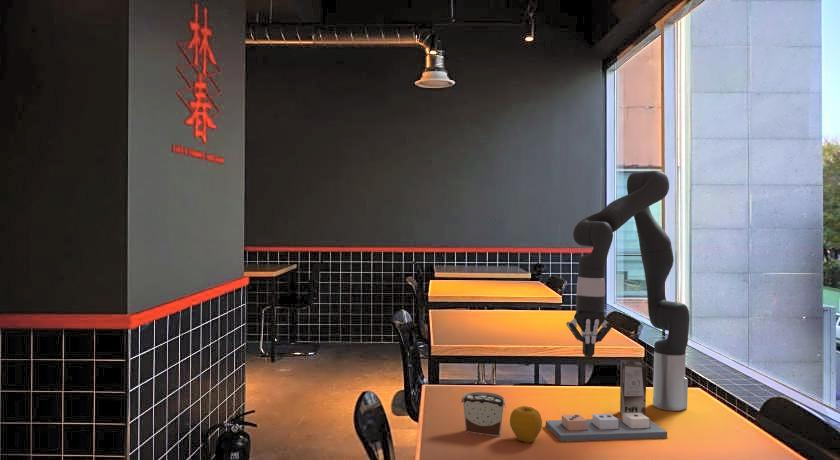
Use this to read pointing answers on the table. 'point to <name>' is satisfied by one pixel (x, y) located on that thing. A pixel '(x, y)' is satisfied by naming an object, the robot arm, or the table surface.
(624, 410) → the coffee box
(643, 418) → the tile one
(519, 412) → the apple
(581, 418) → the tile three
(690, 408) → the table surface
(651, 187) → the robot arm
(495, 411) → the food container
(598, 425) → the tile two
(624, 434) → the button board
